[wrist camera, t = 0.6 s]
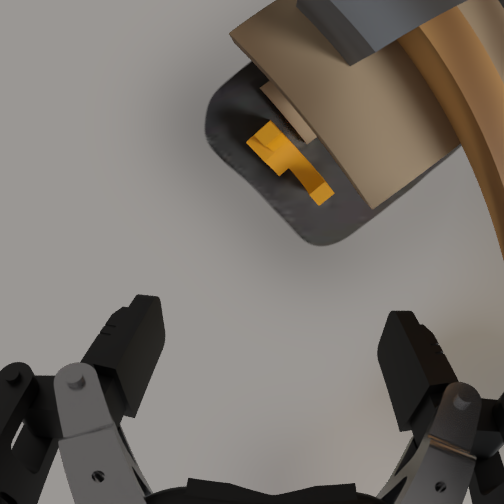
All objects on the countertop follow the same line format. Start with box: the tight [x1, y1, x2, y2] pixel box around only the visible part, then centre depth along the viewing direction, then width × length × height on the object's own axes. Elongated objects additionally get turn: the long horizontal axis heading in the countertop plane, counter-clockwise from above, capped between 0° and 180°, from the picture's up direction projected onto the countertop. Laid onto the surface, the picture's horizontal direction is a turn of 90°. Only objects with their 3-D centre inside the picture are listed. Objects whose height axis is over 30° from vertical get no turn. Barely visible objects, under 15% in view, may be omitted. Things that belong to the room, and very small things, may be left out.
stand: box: [229, 0, 504, 209], centre depth 24 cm, size 14×10×31 cm
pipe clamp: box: [246, 120, 334, 205], centre depth 40 cm, size 12×4×6 cm, turn 43°
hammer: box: [296, 0, 504, 260], centre depth 10 cm, size 8×19×4 cm, turn 40°
